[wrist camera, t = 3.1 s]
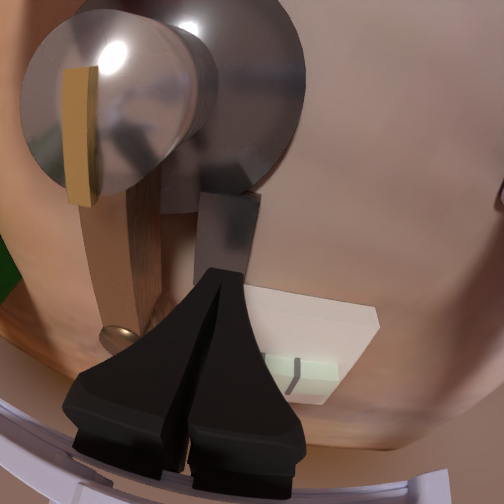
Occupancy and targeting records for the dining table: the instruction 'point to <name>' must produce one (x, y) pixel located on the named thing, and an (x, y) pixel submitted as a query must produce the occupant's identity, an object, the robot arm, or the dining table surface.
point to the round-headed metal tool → (117, 145)
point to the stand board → (308, 340)
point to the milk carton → (7, 273)
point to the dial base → (230, 118)
